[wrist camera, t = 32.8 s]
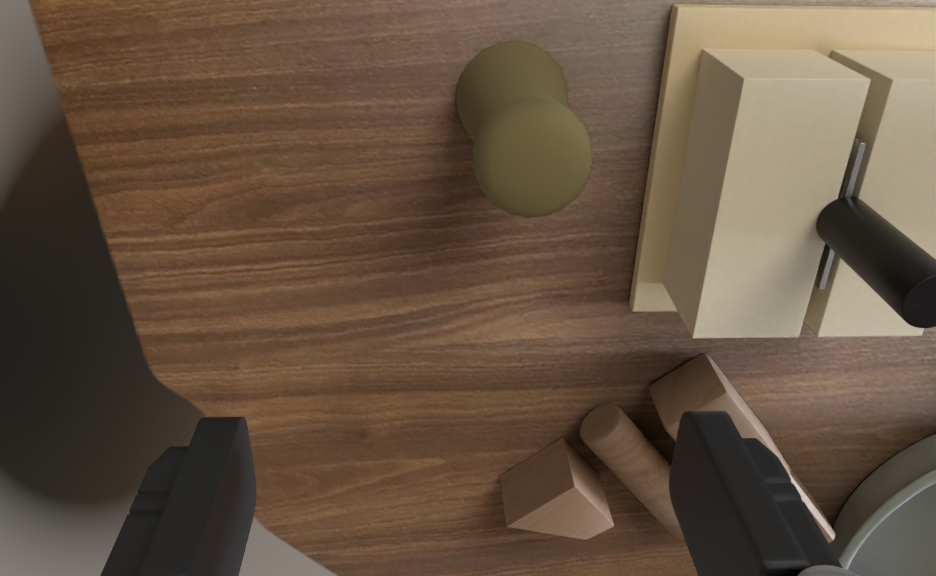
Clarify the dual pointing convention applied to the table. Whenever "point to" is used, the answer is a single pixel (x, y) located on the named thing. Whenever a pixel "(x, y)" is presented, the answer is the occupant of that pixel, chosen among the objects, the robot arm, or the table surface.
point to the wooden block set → (627, 460)
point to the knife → (877, 251)
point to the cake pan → (892, 517)
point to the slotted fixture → (783, 163)
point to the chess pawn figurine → (523, 130)
